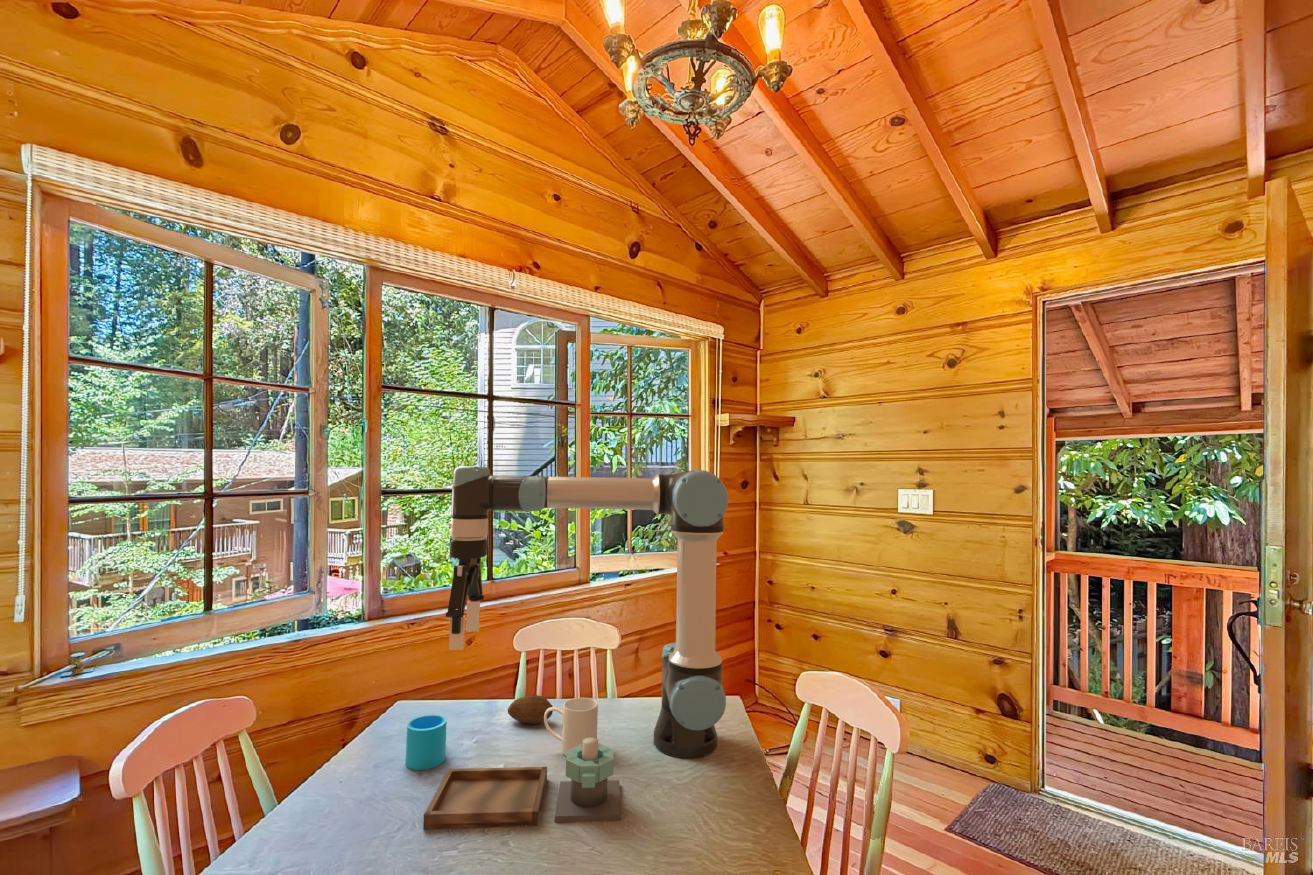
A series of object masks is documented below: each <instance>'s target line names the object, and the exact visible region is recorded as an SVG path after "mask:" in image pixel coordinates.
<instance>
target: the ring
mask: <svg viewBox="0 0 1313 875" xmlns="http://www.w3.org/2000/svg"><path fill="white" fill-rule="evenodd" d="M582 748H583V744H580V745H578V746H576V747H574V748H572V749H569V750H568V751H567V756H566V758H565V776H566V777H567V778H569V779H570V780H571V779H572V780H574V781H576V782H578V783H582V788H595V783H598V782H601V781H603V780H604V779H606V778H610V777H612V776H613V775H614V749H613V748H610V747H608V746H606V745H604V744H602V743H598V760H596V761H583V760H582Z"/></svg>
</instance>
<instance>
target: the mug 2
mask: <svg viewBox="0 0 1313 875" xmlns="http://www.w3.org/2000/svg"><path fill="white" fill-rule="evenodd" d="M550 711H553V712H556V713H559V714H560V715H561V716H562V736H561V735H559V734H557V733H556V732H554V730H553V729H551V727H550V726H549V723H548V719H547V714H548V712H550ZM598 712H599V703H598V701H597V700H595V699H593V698H589V697H574V698H570V699H568V700H566V701H565V702H564V703H563V706H562V709H561V708H558V707H555V706H553V707H551V708H548V709H547V710H546V712H545V715H544V722H543V723H544V726H545V728H546V730H547V732H548V733H549V734H550V735H551V736H553V737H554V738H555V739H557V740H559V741H561V744H562V746H561V751H562V752H561V753H562V754H563V756H566V757H567V751H568V750H569V749H572V748H574V747H576V746H578V745H580V744H583V740H584V739H586V738H596V739H597V740H598V717H599V716H598V714H599V713H598Z"/></svg>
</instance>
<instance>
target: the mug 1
mask: <svg viewBox="0 0 1313 875" xmlns="http://www.w3.org/2000/svg"><path fill="white" fill-rule="evenodd" d="M447 720H448V719H447V718H446V717H445V716H442V715H440V714H439V715H438V714H429V715H428V714H426V715H422V716H418V717H416V718H415V717H414V718H413V719H411V720H410V721H408V723H407V724H406V726H407V727H406V744H405V745H406V746H405V766H406V768H408V769H410V770H415V771H423V770H430V769H433V768H436V767H437V766H439V765H441V764H442V763H443V762H445V760H446V748H447V746H446V744H447Z"/></svg>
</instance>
